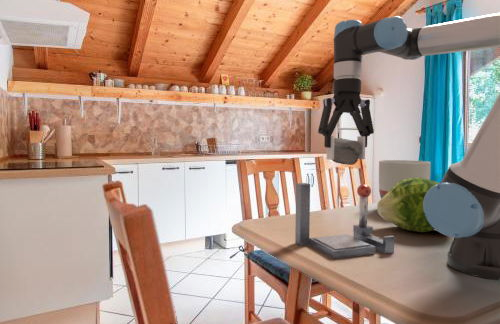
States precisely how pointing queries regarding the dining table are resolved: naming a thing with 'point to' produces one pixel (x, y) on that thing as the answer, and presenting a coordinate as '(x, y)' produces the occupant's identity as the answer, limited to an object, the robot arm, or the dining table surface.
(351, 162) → the stone
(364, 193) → the lever
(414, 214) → the lettuce
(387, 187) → the planter
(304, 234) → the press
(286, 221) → the dining table surface
